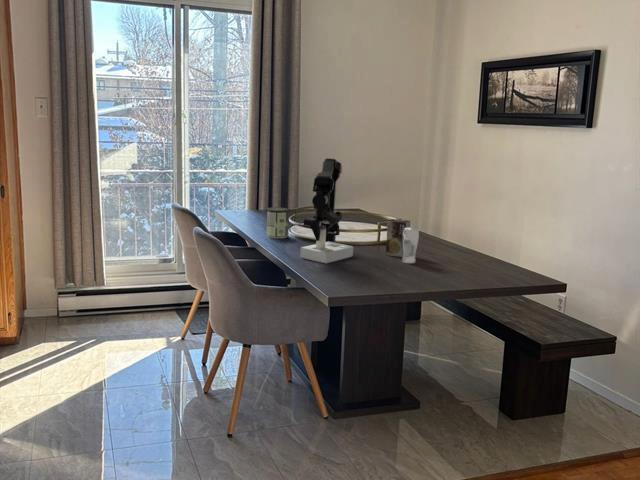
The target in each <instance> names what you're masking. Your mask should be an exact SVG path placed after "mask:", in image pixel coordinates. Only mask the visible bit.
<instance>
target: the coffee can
mask: <svg viewBox="0 0 640 480" xmlns="http://www.w3.org/2000/svg"><path fill="white" fill-rule="evenodd" d="M288 211H289V209H288V208H286V207H279V206H277V207H276V206H275V207H274V206H273V207H267V208H266V213H267V216H266V218H267V219H266V237H267V238H270V239H286V238H287V237H288Z"/></svg>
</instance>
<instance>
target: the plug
mask: <svg viewBox="0 0 640 480" xmlns="http://www.w3.org/2000/svg"><path fill="white" fill-rule="evenodd" d="M315 241H316V242H315V244H316V249H317V250H325V242H326V226H323V227H322V228H321V230H320V238H319V241H317V240H315Z"/></svg>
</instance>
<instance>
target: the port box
mask: <svg viewBox="0 0 640 480" xmlns="http://www.w3.org/2000/svg"><path fill="white" fill-rule="evenodd" d="M353 256H354V246H352V245H349V244H348V245H347V244H343V243H338V242H335V243H334V242H329V241H328V242H325V250H317V249H316V243H314V244H310V245H306V246H305V245H304V246H301V247H300V255H299V257H300V258H301V259H305V260H310V261H313V262H318V263H323V264H329V263H332V262H336V261H339V260H344V259H348V258H351V257H353Z"/></svg>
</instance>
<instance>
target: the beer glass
mask: <svg viewBox="0 0 640 480" xmlns="http://www.w3.org/2000/svg"><path fill="white" fill-rule="evenodd" d="M419 231H420V229H419V228H416V227H411V226H410V227H405V228H404V230H403V238H402V243H403V257H401V262H402V263H403V264H410V265H412V264H416V253H417V252H416V251H417V248H418V244H419V240H420V239H419V238H420V237H419V236H420V233H419Z"/></svg>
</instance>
